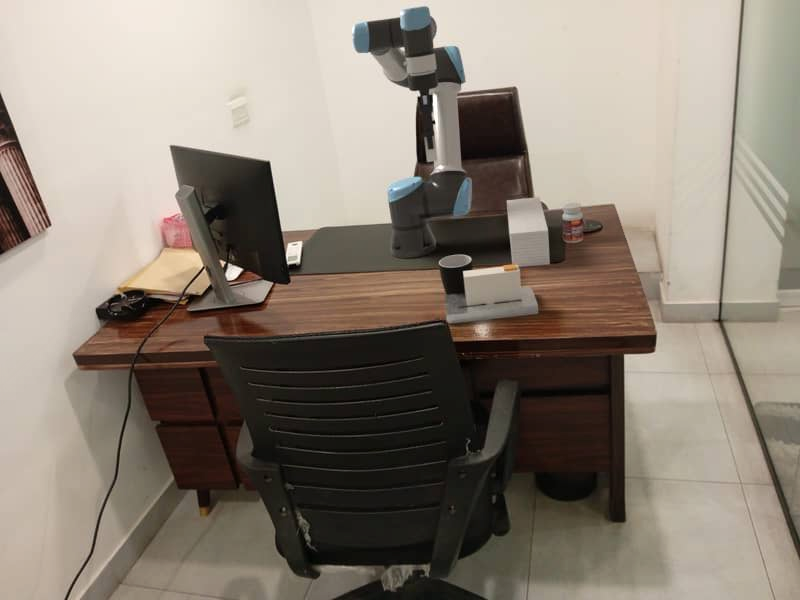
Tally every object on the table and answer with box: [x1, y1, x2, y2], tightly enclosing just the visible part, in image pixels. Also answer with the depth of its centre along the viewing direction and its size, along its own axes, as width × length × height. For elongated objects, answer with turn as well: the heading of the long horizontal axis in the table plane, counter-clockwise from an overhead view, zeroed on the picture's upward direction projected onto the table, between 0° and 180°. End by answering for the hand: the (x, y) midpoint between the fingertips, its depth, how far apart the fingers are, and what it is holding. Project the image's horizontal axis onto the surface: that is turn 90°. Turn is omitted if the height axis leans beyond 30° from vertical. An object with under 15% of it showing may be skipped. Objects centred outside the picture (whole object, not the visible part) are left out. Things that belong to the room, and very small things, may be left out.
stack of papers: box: [506, 196, 551, 268], centre depth 208 cm, size 32×11×11 cm, turn 174°
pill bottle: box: [561, 202, 584, 244], centre depth 207 cm, size 6×6×11 cm
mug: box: [438, 254, 474, 295], centre depth 184 cm, size 12×9×10 cm
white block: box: [463, 264, 522, 307], centre depth 172 cm, size 4×14×10 cm, turn 89°
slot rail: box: [443, 285, 539, 325], centre depth 174 cm, size 12×23×2 cm, turn 89°
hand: (431, 155), depth 180 cm, fingers open, 13 cm apart
